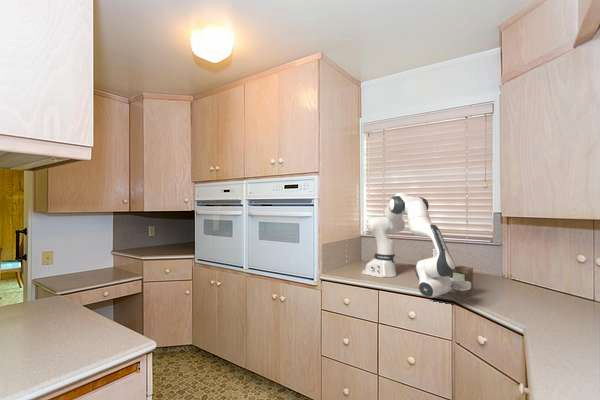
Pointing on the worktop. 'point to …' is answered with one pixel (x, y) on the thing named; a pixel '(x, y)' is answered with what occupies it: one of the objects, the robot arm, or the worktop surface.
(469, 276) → the keypad console
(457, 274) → the key right
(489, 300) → the worktop surface
